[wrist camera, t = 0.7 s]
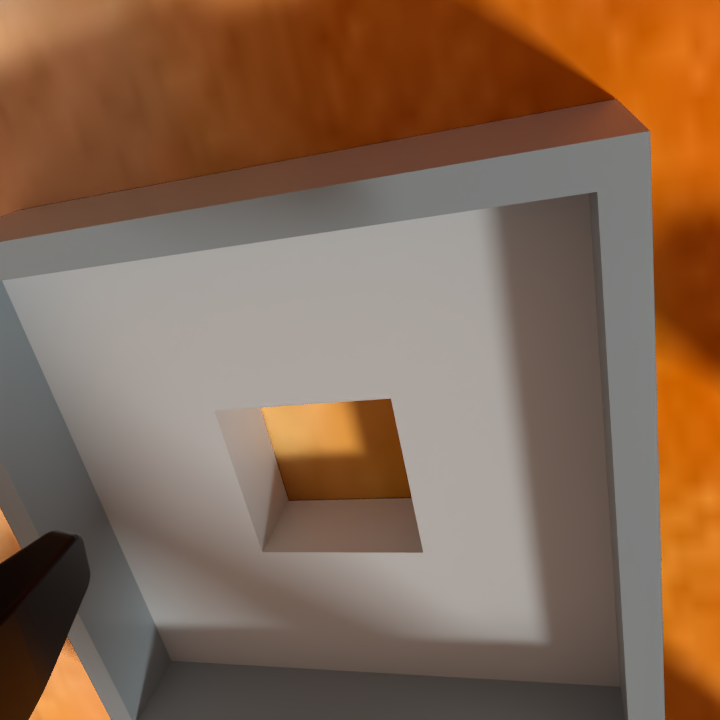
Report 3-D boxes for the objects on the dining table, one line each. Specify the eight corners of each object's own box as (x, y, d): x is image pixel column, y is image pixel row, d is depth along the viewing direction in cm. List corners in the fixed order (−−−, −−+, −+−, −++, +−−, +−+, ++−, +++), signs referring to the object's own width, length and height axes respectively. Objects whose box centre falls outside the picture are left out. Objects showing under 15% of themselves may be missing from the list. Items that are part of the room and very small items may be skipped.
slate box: (640, 639, 26) (666, 795, 21) (189, 622, 32) (121, 739, 27) (616, 98, 18) (649, 130, 13) (18, 210, 24) (-128, 263, 18)
